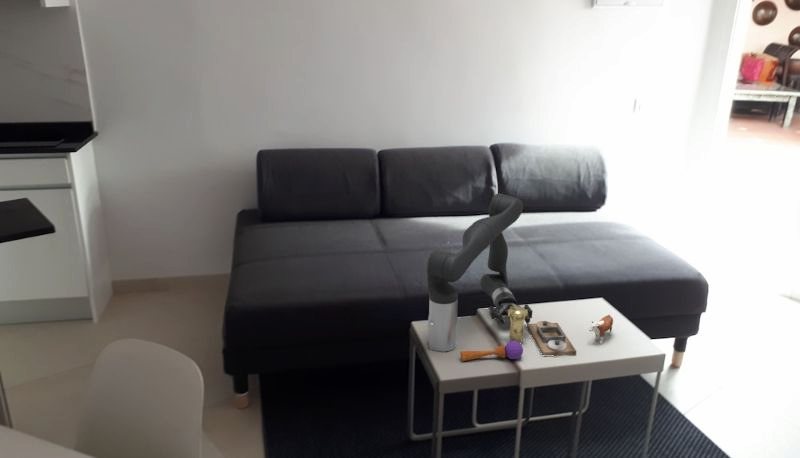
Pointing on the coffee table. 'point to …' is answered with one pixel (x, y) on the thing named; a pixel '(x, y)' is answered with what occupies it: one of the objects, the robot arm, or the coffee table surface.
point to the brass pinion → (516, 323)
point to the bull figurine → (602, 327)
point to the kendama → (496, 352)
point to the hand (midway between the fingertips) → (515, 321)
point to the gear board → (551, 339)
